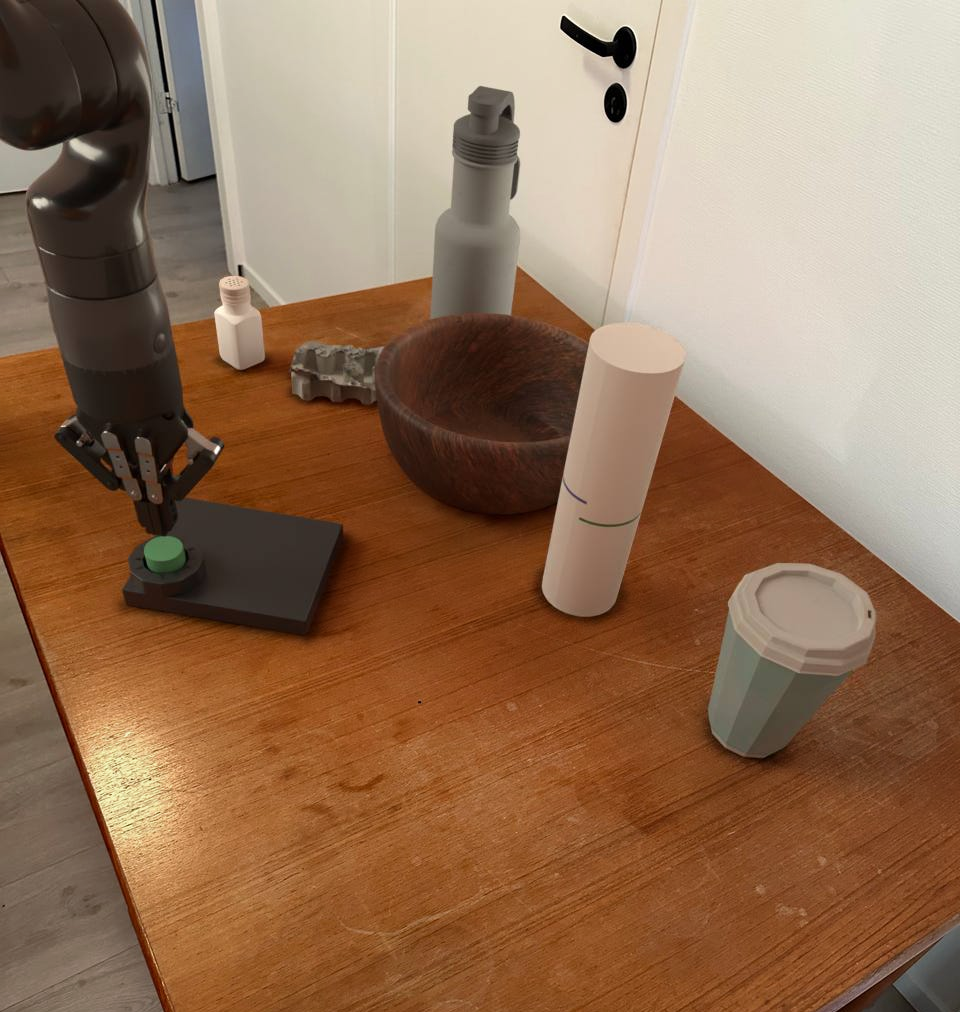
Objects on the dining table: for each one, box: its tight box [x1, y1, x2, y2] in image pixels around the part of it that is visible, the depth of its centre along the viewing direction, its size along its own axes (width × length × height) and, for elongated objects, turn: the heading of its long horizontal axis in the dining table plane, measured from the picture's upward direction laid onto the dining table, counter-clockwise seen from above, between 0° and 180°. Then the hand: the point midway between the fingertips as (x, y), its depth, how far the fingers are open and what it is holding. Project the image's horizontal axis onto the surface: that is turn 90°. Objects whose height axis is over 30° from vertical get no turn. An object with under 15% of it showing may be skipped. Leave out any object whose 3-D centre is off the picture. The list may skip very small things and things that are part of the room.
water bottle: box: [429, 85, 521, 320], centre depth 102 cm, size 10×10×28 cm
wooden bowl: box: [374, 313, 589, 515], centre depth 93 cm, size 25×25×10 cm
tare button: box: [144, 536, 186, 574], centre depth 77 cm, size 3×3×2 cm
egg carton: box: [289, 340, 385, 406], centre depth 102 cm, size 11×8×4 cm
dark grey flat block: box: [121, 497, 344, 637], centre depth 81 cm, size 16×13×4 cm
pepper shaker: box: [213, 275, 266, 371], centre depth 102 cm, size 4×4×10 cm
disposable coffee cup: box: [707, 562, 877, 759], centre depth 70 cm, size 11×11×15 cm
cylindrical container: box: [541, 321, 687, 618], centre depth 75 cm, size 7×7×25 cm
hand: (160, 528), depth 75 cm, fingers closed
